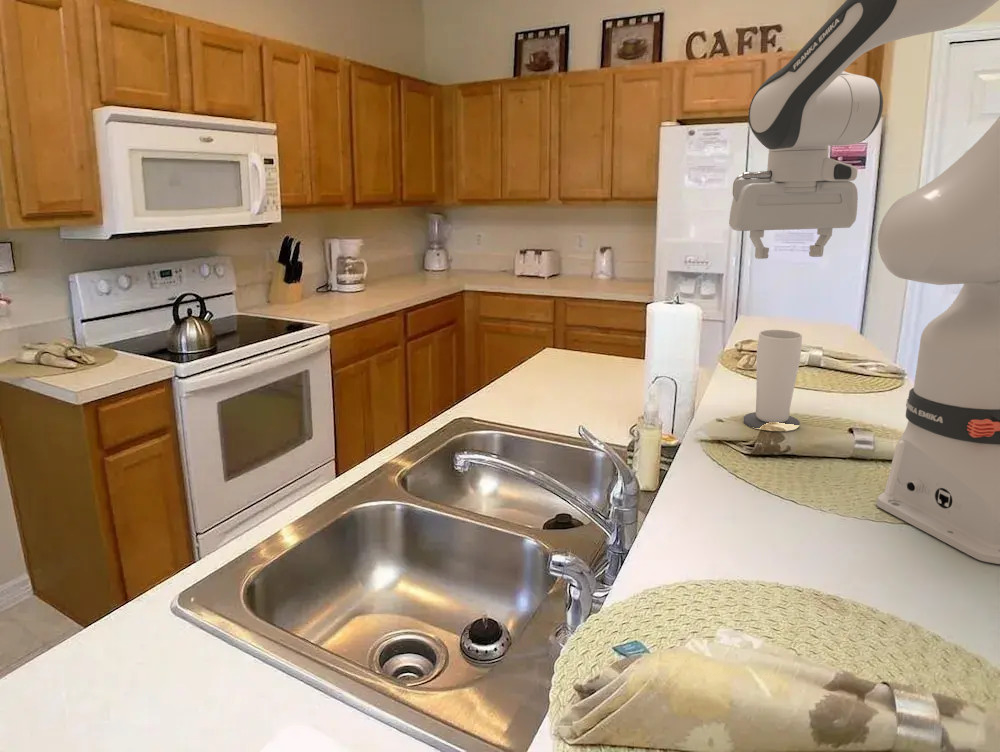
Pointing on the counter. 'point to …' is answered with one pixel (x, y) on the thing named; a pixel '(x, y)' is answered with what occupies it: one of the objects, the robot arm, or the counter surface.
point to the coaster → (756, 423)
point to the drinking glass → (776, 373)
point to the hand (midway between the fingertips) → (788, 257)
